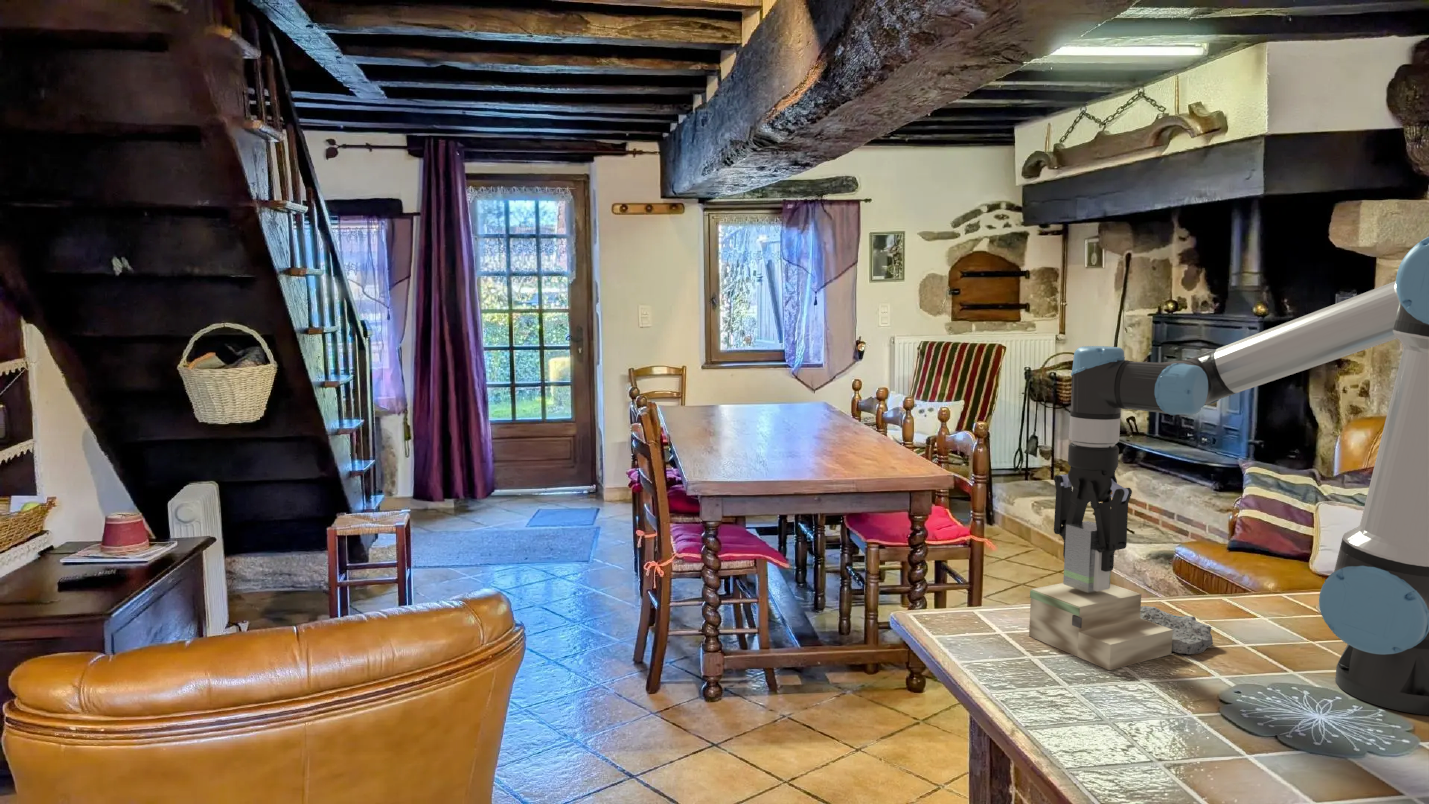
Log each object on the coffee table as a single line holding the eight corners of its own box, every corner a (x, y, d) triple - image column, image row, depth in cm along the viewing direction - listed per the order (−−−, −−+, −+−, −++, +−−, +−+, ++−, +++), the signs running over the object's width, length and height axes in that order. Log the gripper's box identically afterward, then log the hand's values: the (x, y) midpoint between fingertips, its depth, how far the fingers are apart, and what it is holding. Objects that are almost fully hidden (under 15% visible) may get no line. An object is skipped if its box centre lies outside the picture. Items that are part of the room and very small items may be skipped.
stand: (1171, 654, 151) (1174, 604, 150) (1107, 670, 144) (1110, 619, 143) (1088, 622, 165) (1091, 577, 164) (1027, 636, 158) (1029, 589, 157)
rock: (1221, 650, 154) (1224, 620, 153) (1184, 660, 149) (1187, 629, 148) (1149, 625, 165) (1152, 597, 164) (1113, 633, 160) (1116, 604, 159)
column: (1109, 588, 155) (1113, 527, 154) (1087, 592, 153) (1091, 531, 151) (1084, 579, 159) (1087, 521, 158) (1063, 584, 157) (1066, 524, 156)
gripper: (1158, 449, 147) (1150, 597, 150) (1066, 433, 163) (1059, 567, 166) (1125, 453, 143) (1116, 604, 146) (1033, 436, 159) (1027, 573, 162)
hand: (1086, 584), depth 156 cm, fingers closed on column, 5 cm apart
